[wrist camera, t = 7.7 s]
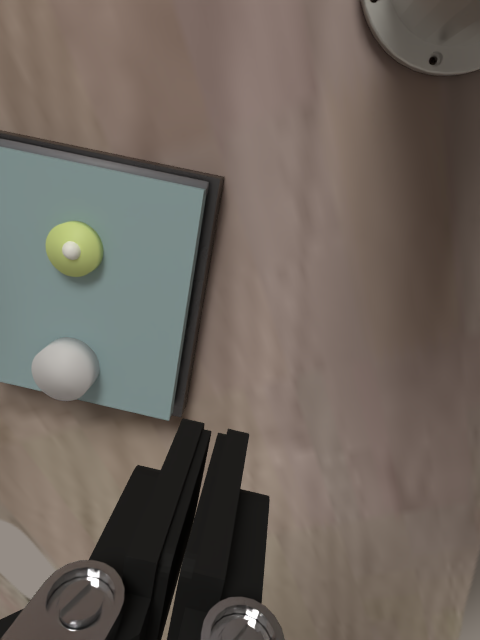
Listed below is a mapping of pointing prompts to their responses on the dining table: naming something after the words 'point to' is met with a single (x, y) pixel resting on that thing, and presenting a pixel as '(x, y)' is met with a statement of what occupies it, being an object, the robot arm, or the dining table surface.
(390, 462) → the dining table surface
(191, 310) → the levelling base
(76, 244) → the plate
